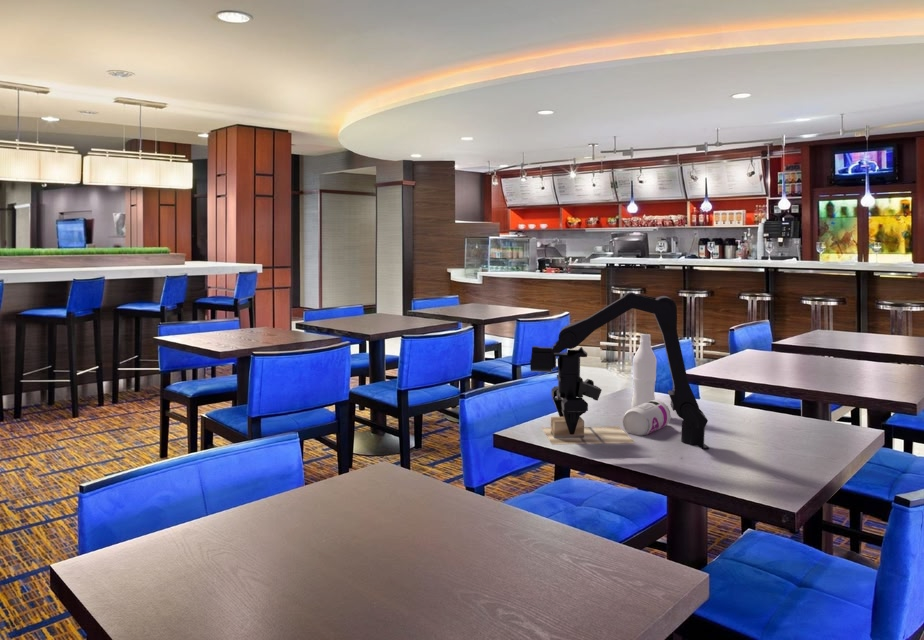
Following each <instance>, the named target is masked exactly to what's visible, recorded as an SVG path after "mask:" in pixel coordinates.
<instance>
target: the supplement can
mask: <svg viewBox="0 0 924 640" xmlns="http://www.w3.org/2000/svg"><path fill="white" fill-rule="evenodd" d="M671 415H672V414H671V410H670V408H669V406H668V405H667V404H666V403H665V402H663V401H662V400H660V399H655V400H652V401H649V402H646V403H644V404H641V405H639V406H636V407H634V408H632V407H631V408H630V409H628V410H626V412H625V414H624V415H623V419H622V426H623V428H624V430H625V433H626V434H632V435H637V436H648V435H649V434H652V433H654V432H655V431H659V430H660V429H663V428H664V427H666V426H668V424H669V423H670V421H671Z"/></svg>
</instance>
